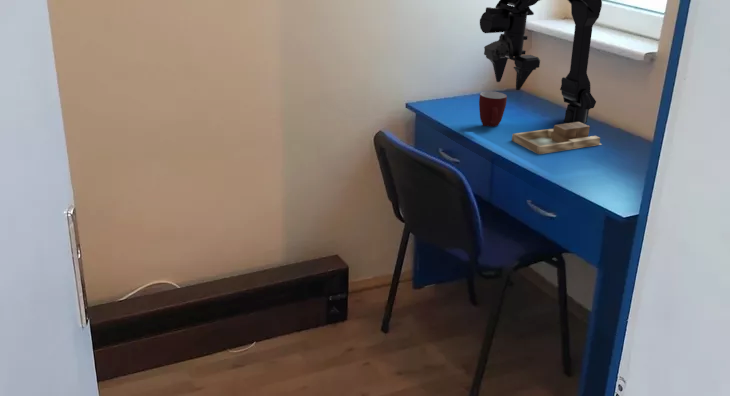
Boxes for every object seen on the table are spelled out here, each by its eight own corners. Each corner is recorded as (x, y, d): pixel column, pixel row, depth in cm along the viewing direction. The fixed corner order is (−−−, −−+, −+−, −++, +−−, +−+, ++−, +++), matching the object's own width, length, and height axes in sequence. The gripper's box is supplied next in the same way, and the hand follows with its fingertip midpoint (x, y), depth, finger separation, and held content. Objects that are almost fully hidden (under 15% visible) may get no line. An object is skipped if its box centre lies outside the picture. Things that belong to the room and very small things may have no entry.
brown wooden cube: (564, 138, 214) (566, 123, 213) (574, 143, 211) (577, 128, 209) (552, 139, 212) (554, 125, 211) (562, 144, 209) (564, 129, 207)
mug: (509, 133, 219) (513, 101, 215) (482, 133, 218) (486, 101, 214) (498, 122, 229) (502, 91, 225) (473, 122, 228) (476, 91, 224)
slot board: (573, 134, 221) (574, 125, 220) (601, 147, 211) (603, 137, 210) (511, 143, 211) (512, 133, 210) (538, 157, 201) (539, 147, 200)
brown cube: (576, 136, 216) (579, 121, 215) (587, 141, 213) (589, 126, 211) (564, 138, 214) (567, 123, 213) (575, 142, 211) (577, 127, 209)
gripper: (471, 26, 210) (466, 80, 217) (511, 39, 195) (504, 96, 202) (503, 24, 215) (497, 77, 222) (544, 37, 200) (537, 93, 206)
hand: (507, 85), depth 213 cm, fingers open, 9 cm apart
